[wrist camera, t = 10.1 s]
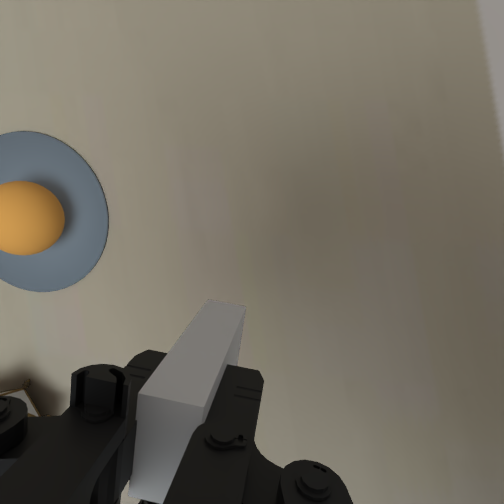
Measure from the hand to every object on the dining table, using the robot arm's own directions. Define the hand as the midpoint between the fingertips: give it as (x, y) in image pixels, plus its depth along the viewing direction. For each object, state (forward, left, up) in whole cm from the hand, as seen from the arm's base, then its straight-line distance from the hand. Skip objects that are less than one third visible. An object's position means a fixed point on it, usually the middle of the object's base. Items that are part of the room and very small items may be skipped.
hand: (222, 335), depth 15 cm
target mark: (+19, 0, -15) cm, 24 cm away
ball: (+18, 0, -13) cm, 22 cm away
